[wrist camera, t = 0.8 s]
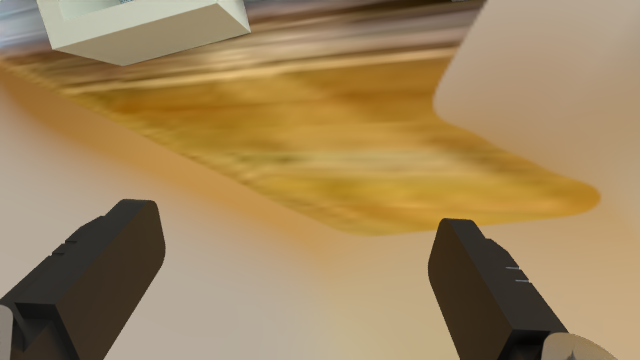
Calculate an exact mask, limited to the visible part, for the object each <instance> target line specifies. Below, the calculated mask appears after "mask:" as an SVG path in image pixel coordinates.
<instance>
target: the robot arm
mask: <svg viewBox="0 0 640 360" xmlns="http://www.w3.org/2000/svg"><path fill="white" fill-rule="evenodd" d="M164 257H165V241H164V236H163V232H162V226H161V221H160V216H159V211H158V207H157V204H156V203H155V202H154V201H151V200H134V199H123V200H121V201H120V202H118V204H116V205H115V206H114V207H113V208H112V209H111V210H110V211H109V212H108V213H107V214H106V215H105V216H100V217H98V218H96V219H94V220H92V221H91V222H89V223H87V224H85V225H83V226H81V227H80V228H79V229H78V230H76V231H75V232H74V233H73V234H72V235H71V236H70V237H69V238H68V239H66V240H65V244H61V245H60V246H59V247H58V248H57V249H56V250H54V251H53V252H52V255H51V256H48V257H47V258H45V260H43V261H42V262H41V263H40V264H39V265H38V266H37V267H36V268H34V269H33V270H32V271H31V272H30V273H29V274H28V275H27V276H26V277H25V278H23V279H22V280H21V281H20V282H19V283H18V284H17V285H16V286H15V287H13V288H12V289H11V290H10V291H9V292H8V293H7V294H6V295H5V296H4V297H2V298H1V299H0V360H103V359H104V358H105V356H106V355H107V353H108V351H109V349H110V348H111V346H112V345H113V343H114V342H115V340H116V338H117V337H118V335H119V334H120V332H121V330H122V329H123V327H124V326H125V324H126V322H127V321H128V319H129V318H130V316H131V314H132V313H133V311H134V310H135V308H136V306H137V305H138V303H139V301H140V300H141V298H142V297H143V295H144V293H145V292H146V290H147V289H148V287H149V285H150V284H151V282H152V281H153V279H154V277H155V276H156V274H157V272H158V271H159V269H160V268H161V266H162V264H163V261H164ZM428 276H429V280H430V283H431V286H432V289H433V291H434V294H435V296H436V299H437V302H438V304H439V307H440V309H441V312H442V314H443V317H444V319H445V322H446V324H447V327H448V330H449V332H450V335H451V337H452V340H453V342H454V345H455V347H456V350H457V353H458V355H459V357H460V360H617V359H616V358H615V357H614V356H613V355H612V354H610V353H609V352H608V351H606V350H605V349H603V348H602V347H600V346H599V345H597V344H595V343H594V342H592V341H590V340H588V339H585V338H583V337H580V336H578V335H575V334H570V333H569V332H568V331H567V329H566V328H565V327H564V325H563V324H562V323H561V321H560V320H559V319H558V317H557V316H556V315H555V313H554V312H553V311H552V309H551V308H550V307H549V306H548V304H547V303H546V302H545V300H544V299H543V298H542V296H541V295H540V294H539V292H538V291H537V290H536V289H535V287H534V286H533V285H532V283H529V281H528V280H529V279H528V278H527V277H526V275H525V274H524V273H523V271H522V270H519V266H518V265H517V263H516V262H515V261H514V259H513V258H512V257H511V256H510V254H509V253H508V252H507V251H506V250H505V249H503V248H502V247H501V246H500V245H498V244H497V243H496V242H494V241H493V240H491V239H486V238H485V237H484V235H483V234H482V232H481V231H480V230H479V228H478V227H477V225H476V224H475V223H474V221H472V220H466V219H449V218H444V219H442V220H441V221H440V223H439V226H438V230H437V233H436V237H435V240H434V244H433V247H432V251H431V254H430V258H429V262H428Z"/></svg>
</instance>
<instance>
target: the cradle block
mask: <svg viewBox="0 0 640 360" xmlns="http://www.w3.org/2000/svg"><path fill="white" fill-rule="evenodd" d="M36 1H37V4H38V7H39V10H40V13H41V16H42V19H43V22H44V25H45V28H46V31H47V34H48V37H49V40H50V43H51V46H52V49H53V50H57V51H61V52H66V53H70V54H74V55H78V56H82V57H86V58H91V59H95V60H99V61H103V62H107V63H111V64H116V65H120V66H127V65H131V64H134V63H138V62H142V61H146V60H149V59H153V58H157V57H161V56H165V55H168V54H172V53H176V52H180V51H183V50H187V49H191V48H195V47H199V46H202V45H206V44H210V43H214V42H217V41H221V40H225V39H229V38H233V37H236V36H240V35H244V34H248V33H251V31H250V27H249V23H248V18H247V14H246V10H245V6H244V2H243V0H133V1H130V2H126V3H123V4H121V0H36Z"/></svg>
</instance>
